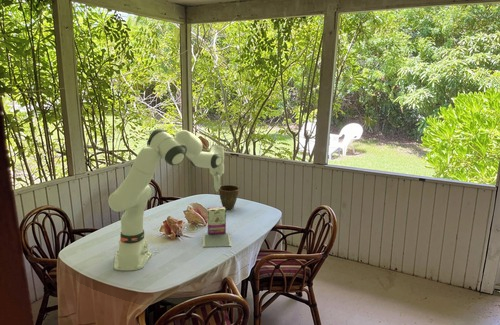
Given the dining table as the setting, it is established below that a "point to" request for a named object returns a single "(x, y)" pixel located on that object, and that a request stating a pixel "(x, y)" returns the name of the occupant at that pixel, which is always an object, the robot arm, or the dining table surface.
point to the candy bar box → (216, 220)
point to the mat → (216, 240)
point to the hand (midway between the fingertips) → (216, 191)
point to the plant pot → (228, 196)
